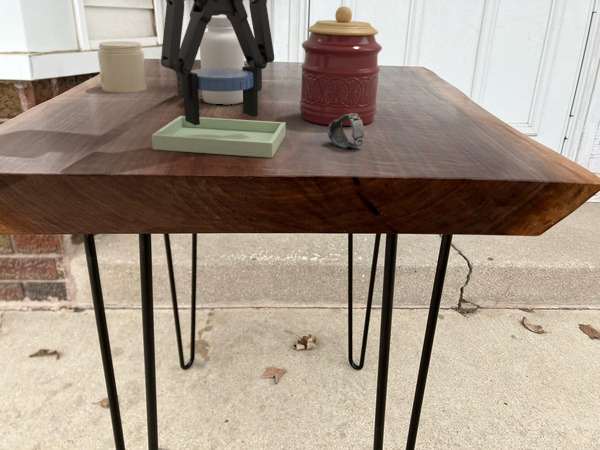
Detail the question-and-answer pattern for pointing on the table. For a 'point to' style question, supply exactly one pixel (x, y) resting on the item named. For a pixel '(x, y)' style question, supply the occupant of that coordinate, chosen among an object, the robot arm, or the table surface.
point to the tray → (221, 137)
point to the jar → (122, 67)
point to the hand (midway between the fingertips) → (222, 118)
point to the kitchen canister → (340, 70)
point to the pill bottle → (221, 57)
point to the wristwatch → (339, 136)
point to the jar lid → (223, 79)
